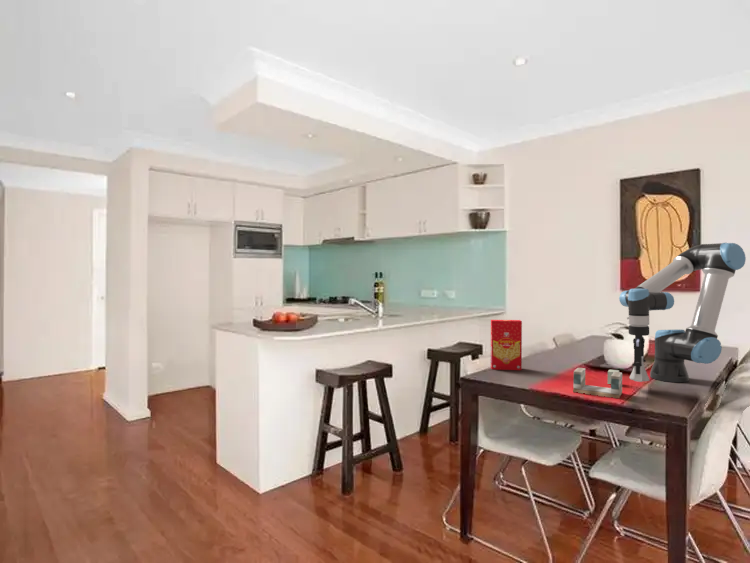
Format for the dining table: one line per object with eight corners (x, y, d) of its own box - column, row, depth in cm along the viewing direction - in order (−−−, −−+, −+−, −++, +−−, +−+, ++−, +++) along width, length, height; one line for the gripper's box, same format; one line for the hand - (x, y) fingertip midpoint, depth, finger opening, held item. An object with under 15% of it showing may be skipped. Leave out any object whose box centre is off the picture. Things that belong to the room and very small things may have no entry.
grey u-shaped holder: (622, 393, 187) (622, 372, 187) (619, 398, 179) (619, 377, 179) (577, 386, 197) (578, 367, 197) (573, 392, 189) (573, 371, 189)
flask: (625, 378, 194) (625, 355, 194) (642, 377, 195) (641, 354, 195) (636, 382, 187) (636, 358, 187) (653, 381, 188) (653, 357, 187)
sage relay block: (619, 383, 203) (619, 370, 202) (617, 386, 199) (617, 372, 198) (609, 382, 205) (609, 369, 205) (607, 384, 201) (607, 371, 201)
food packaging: (491, 369, 232) (491, 320, 231) (490, 367, 237) (490, 319, 237) (521, 370, 230) (521, 321, 229) (519, 368, 235) (520, 320, 234)
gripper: (631, 322, 201) (631, 373, 202) (625, 328, 184) (626, 383, 185) (650, 322, 197) (651, 375, 197) (647, 329, 180) (647, 385, 181)
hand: (639, 379), depth 191 cm, fingers closed on flask, 8 cm apart
